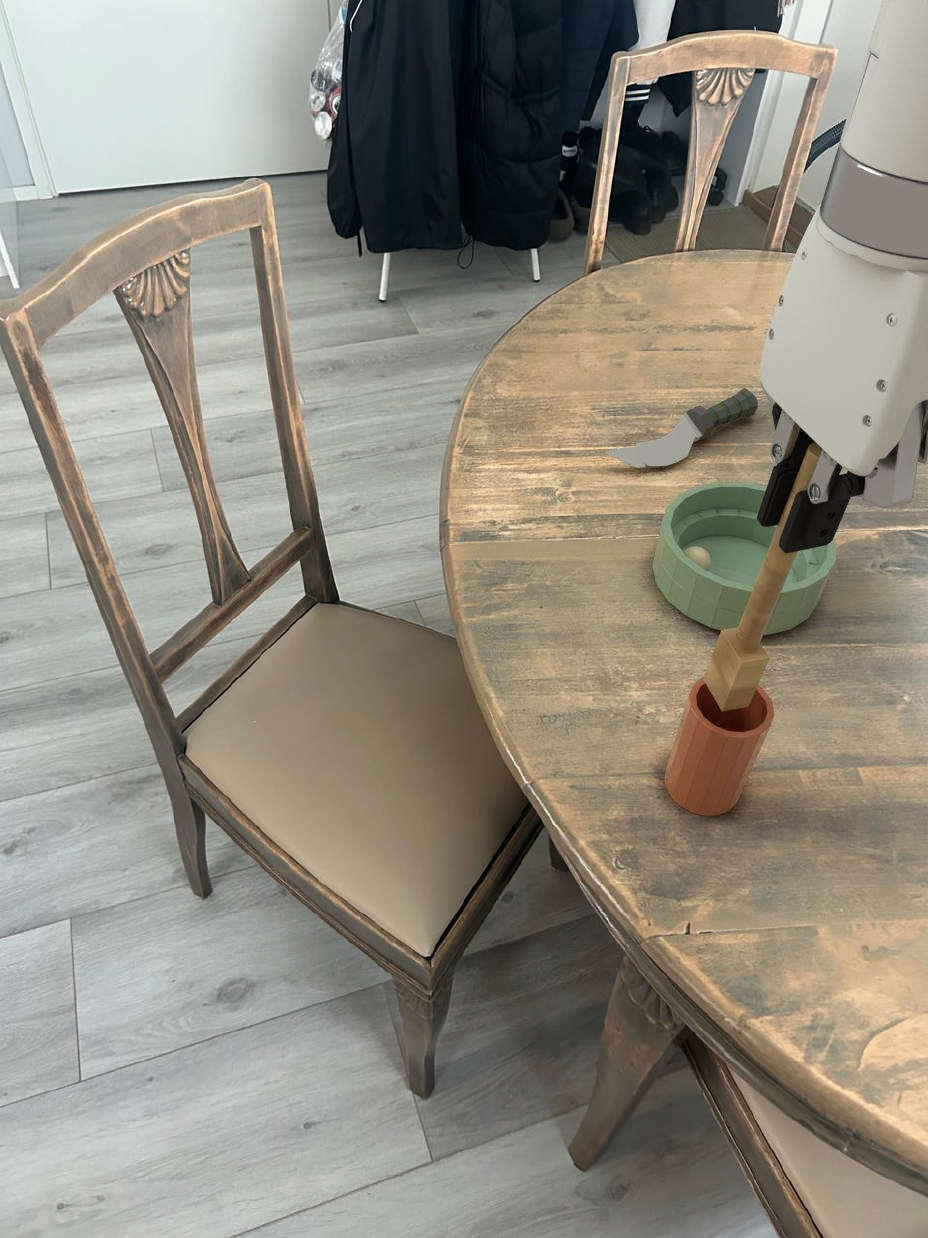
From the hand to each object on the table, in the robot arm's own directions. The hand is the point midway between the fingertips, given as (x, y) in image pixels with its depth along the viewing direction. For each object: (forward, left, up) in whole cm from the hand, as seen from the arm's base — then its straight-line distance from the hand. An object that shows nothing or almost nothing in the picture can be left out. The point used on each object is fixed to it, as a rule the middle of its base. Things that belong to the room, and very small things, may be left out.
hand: (793, 531), depth 50 cm
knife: (+42, -20, -26) cm, 53 cm away
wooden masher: (0, +1, -14) cm, 14 cm away
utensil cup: (0, 0, -26) cm, 26 cm away
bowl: (+20, -14, -26) cm, 35 cm away
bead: (+21, -10, -23) cm, 33 cm away
